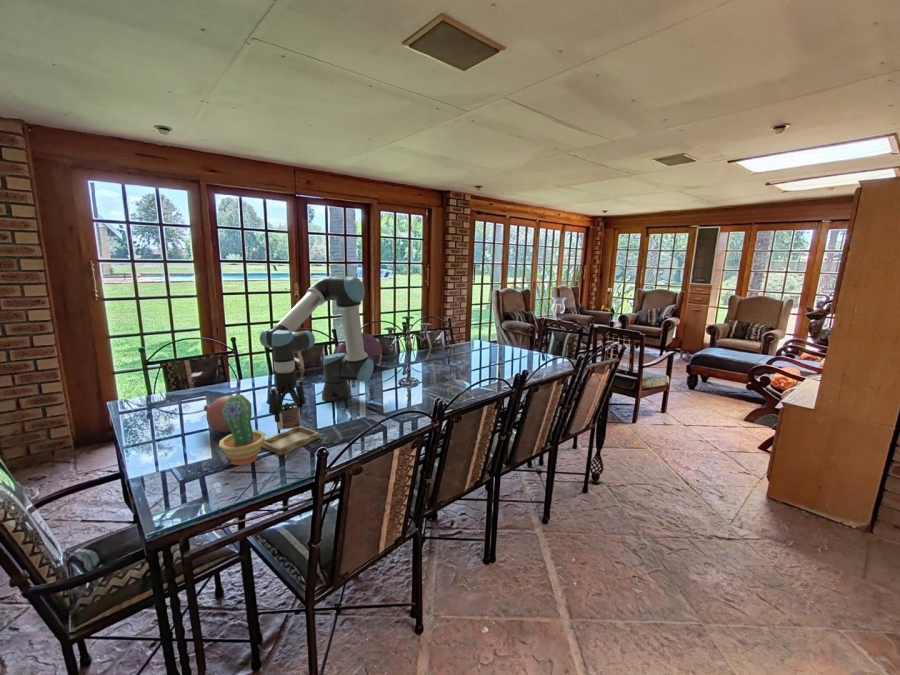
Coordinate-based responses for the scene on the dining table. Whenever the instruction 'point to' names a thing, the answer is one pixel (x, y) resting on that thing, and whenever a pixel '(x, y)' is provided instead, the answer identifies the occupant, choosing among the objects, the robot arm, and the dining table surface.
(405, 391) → the dining table surface
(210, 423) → the brown rounded piece
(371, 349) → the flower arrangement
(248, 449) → the potted cactus
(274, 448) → the tray
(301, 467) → the dining table surface
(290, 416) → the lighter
